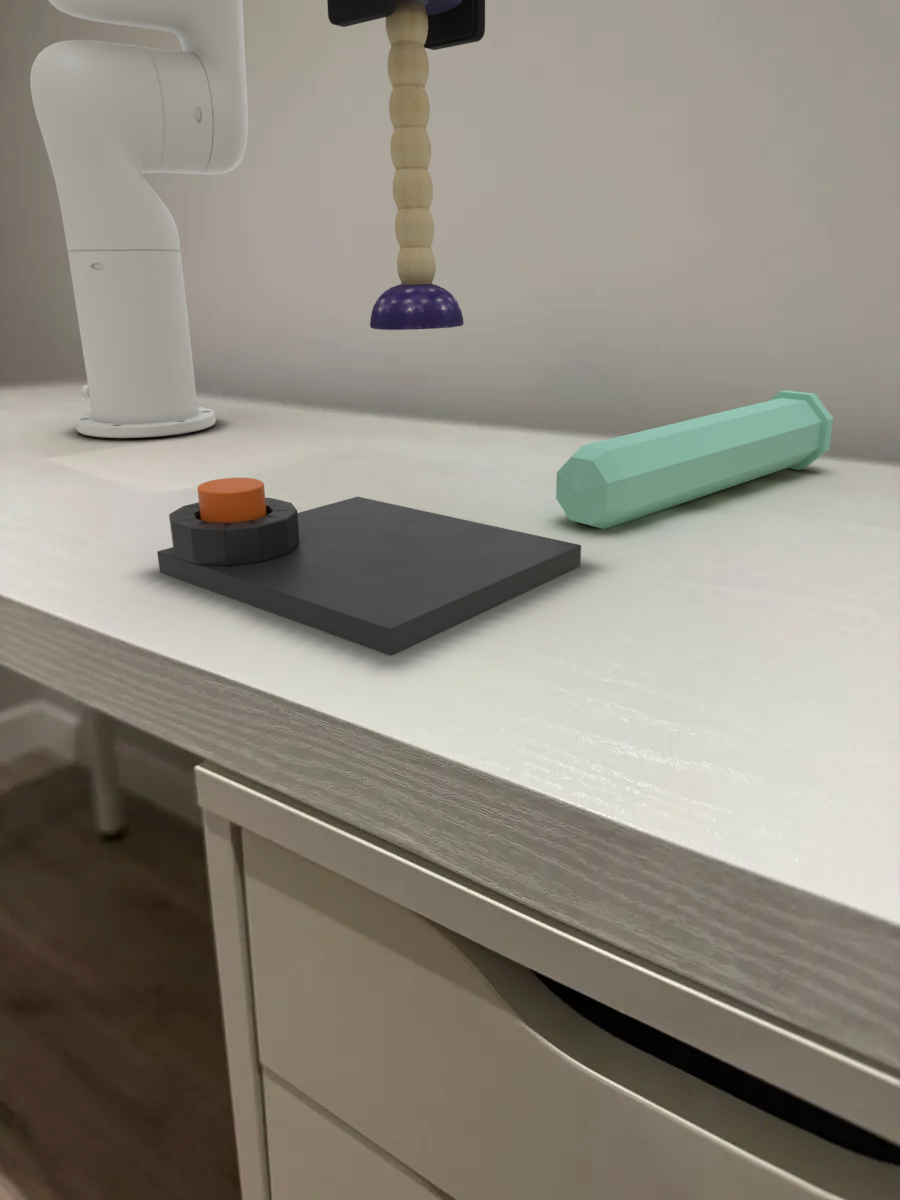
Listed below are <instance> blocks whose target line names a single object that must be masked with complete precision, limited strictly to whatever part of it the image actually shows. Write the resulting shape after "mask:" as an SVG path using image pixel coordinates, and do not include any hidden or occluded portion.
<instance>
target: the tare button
mask: <svg viewBox="0 0 900 1200" xmlns="http://www.w3.org/2000/svg"><path fill="white" fill-rule="evenodd" d="M196 490H197V498H198V502H199V506H200V515H201V520H202V521H206V522H224V523H231V522H241V521H250V520H254V519H258V518H262V517H265V516H267V514H266V502H265V497H266V494H265V493H266V491H265V490H266V489H265V483H264V482H263V480H260V479H256V478H250V477H225V478H218V479H212V480H207V481H205V482H203V483H201V484H198V486H197V489H196Z"/></svg>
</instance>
